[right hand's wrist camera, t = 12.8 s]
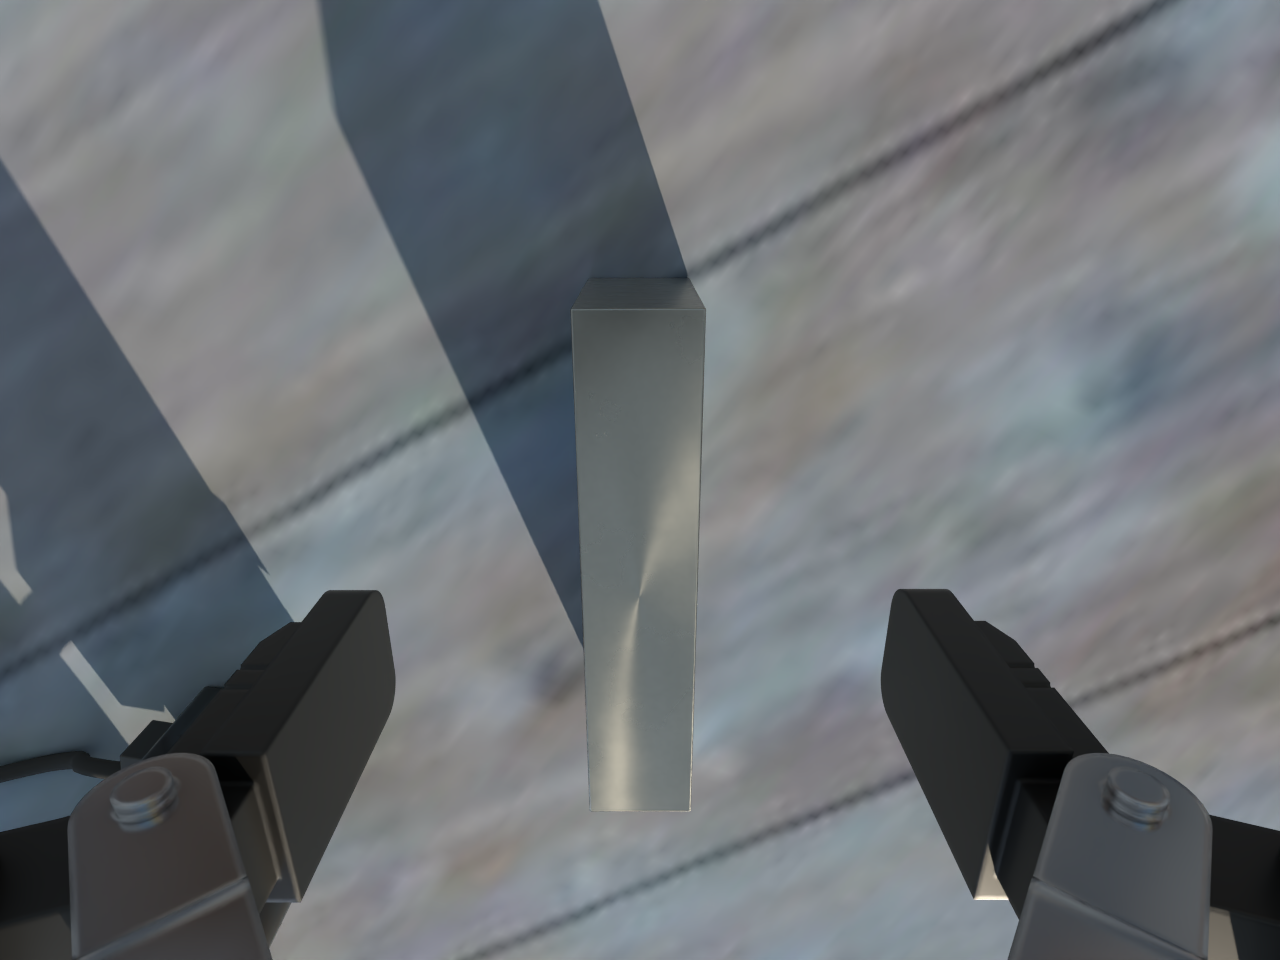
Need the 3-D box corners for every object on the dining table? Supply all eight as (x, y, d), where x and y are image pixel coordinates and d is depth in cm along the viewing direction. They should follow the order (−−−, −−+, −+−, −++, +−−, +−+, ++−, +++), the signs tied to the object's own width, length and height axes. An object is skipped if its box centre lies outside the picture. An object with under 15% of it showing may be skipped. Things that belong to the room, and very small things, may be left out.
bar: (588, 277, 33) (570, 308, 25) (689, 277, 33) (706, 307, 25) (599, 686, 42) (589, 812, 33) (680, 686, 42) (690, 811, 33)
